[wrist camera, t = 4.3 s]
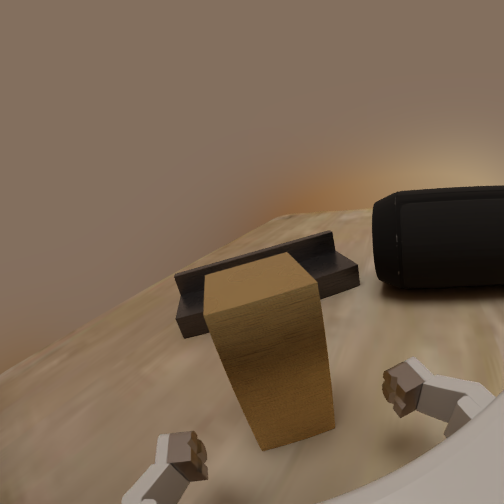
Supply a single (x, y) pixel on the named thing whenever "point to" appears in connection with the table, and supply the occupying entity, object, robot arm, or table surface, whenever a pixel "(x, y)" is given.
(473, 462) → the robot arm
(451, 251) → the portable speaker
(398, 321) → the table surface
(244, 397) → the wooden block
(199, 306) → the rail
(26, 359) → the table surface
